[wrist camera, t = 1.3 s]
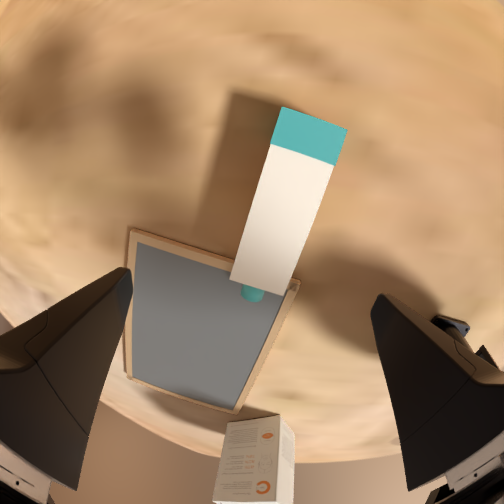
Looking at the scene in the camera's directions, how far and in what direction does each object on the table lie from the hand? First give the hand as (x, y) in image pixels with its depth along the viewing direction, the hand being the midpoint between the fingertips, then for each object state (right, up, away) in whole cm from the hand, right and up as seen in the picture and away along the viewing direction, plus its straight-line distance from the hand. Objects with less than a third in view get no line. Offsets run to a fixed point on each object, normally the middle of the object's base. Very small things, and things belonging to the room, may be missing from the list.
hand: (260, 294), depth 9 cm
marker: (+2, +6, +11) cm, 13 cm away
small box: (+1, -24, +25) cm, 34 cm away
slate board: (-6, -8, +18) cm, 21 cm away
